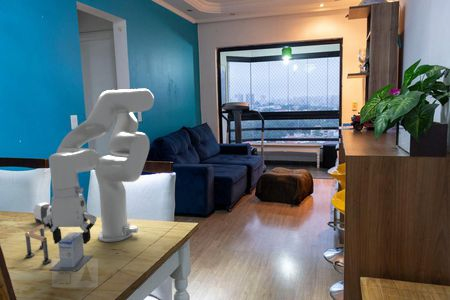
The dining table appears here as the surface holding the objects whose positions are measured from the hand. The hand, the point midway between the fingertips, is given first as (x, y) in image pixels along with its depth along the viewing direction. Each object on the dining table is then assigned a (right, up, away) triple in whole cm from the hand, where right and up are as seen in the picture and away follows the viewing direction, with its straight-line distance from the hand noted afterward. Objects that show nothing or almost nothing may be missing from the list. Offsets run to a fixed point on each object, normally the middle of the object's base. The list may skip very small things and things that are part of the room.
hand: (72, 242), depth 108 cm
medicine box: (0, -7, 0) cm, 7 cm away
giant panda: (-27, -2, +36) cm, 45 cm away
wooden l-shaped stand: (-12, -6, +6) cm, 15 cm away
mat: (0, -7, 0) cm, 7 cm away
